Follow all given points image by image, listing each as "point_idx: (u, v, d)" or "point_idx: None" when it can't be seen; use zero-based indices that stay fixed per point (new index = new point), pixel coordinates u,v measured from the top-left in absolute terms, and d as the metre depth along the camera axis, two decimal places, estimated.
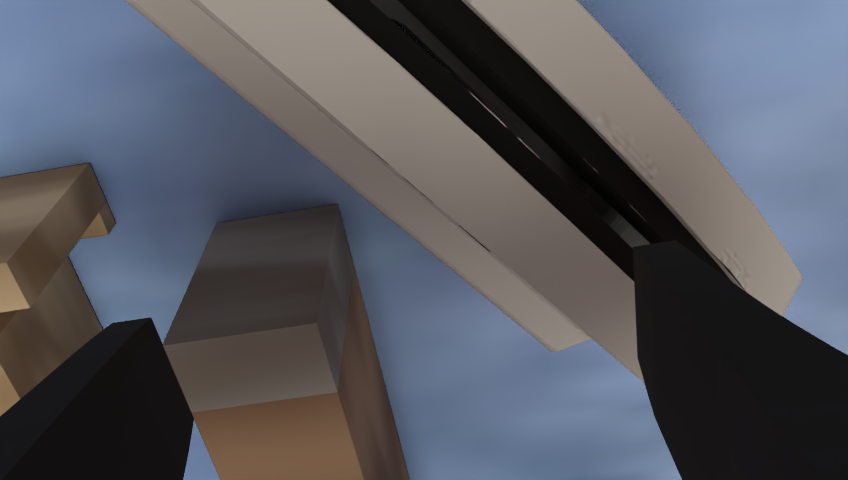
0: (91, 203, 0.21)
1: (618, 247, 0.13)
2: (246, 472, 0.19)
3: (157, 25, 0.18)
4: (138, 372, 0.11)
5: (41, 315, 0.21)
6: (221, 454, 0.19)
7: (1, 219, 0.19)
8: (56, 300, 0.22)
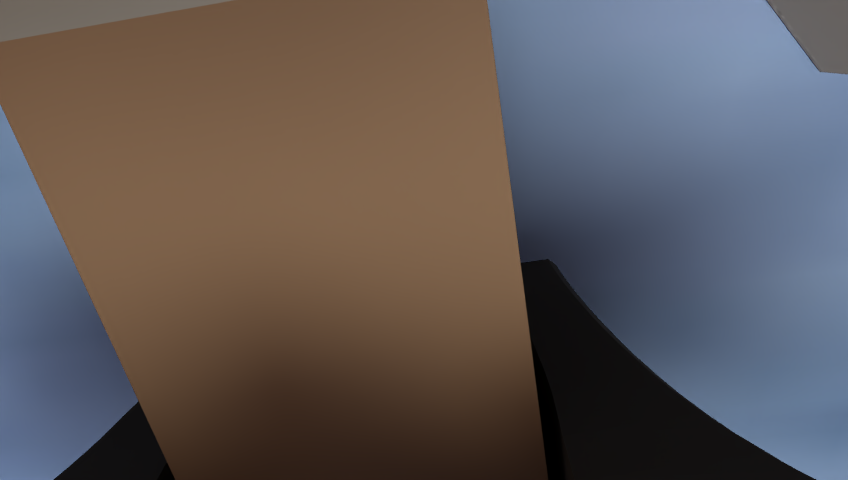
0: None
1: None
2: (174, 287, 0.06)
3: None
4: None
5: None
6: (93, 219, 0.06)
7: None
8: None
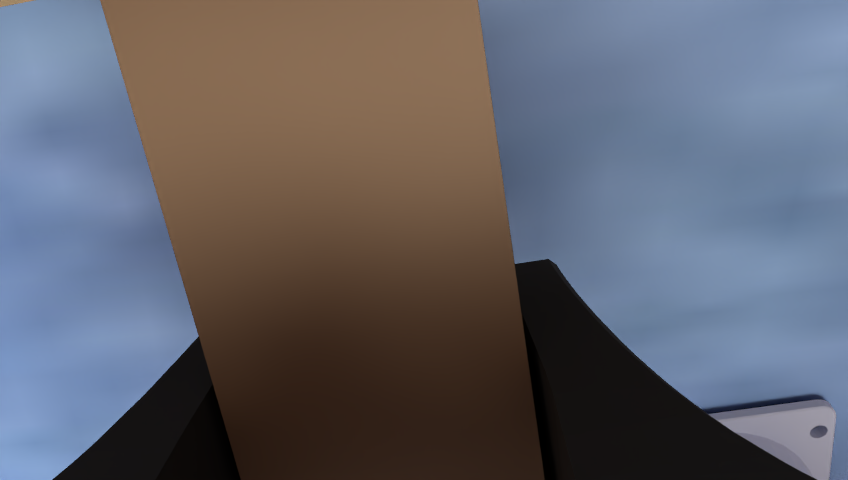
0: None
1: None
2: (207, 119, 0.08)
3: None
4: None
5: None
6: (146, 53, 0.08)
7: None
8: None
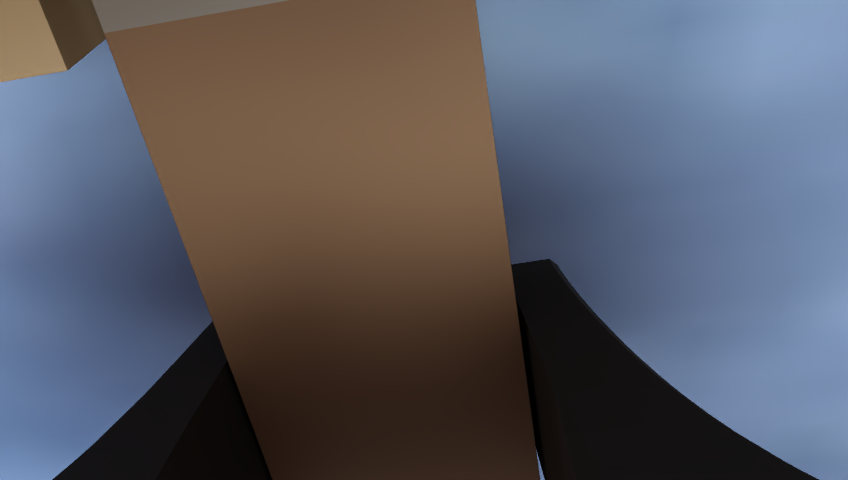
0: None
1: None
2: (240, 217, 0.08)
3: None
4: None
5: None
6: (181, 163, 0.08)
7: None
8: None
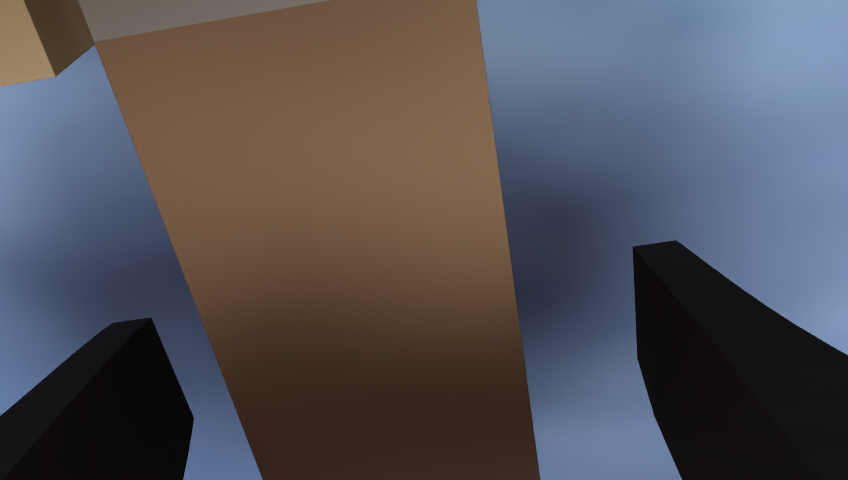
0: None
1: None
2: (235, 229, 0.08)
3: None
4: (138, 372, 0.11)
5: None
6: (175, 175, 0.08)
7: None
8: None
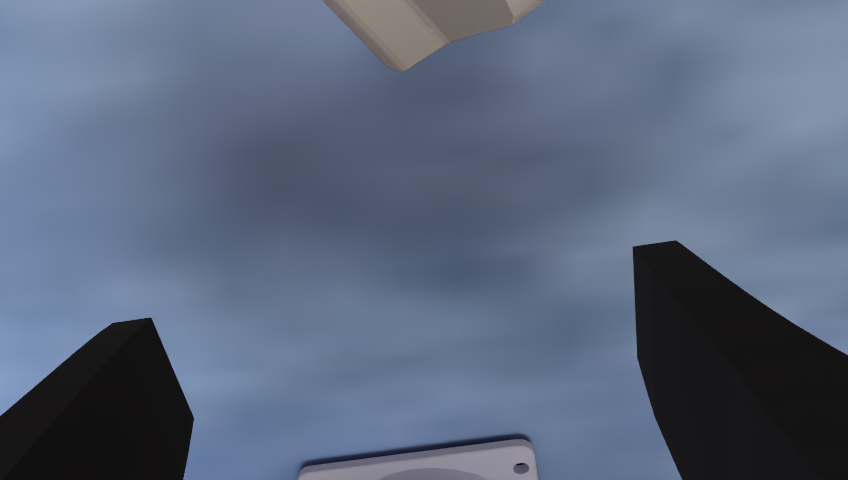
0: None
1: None
2: None
3: None
4: (138, 372, 0.11)
5: None
6: None
7: None
8: None
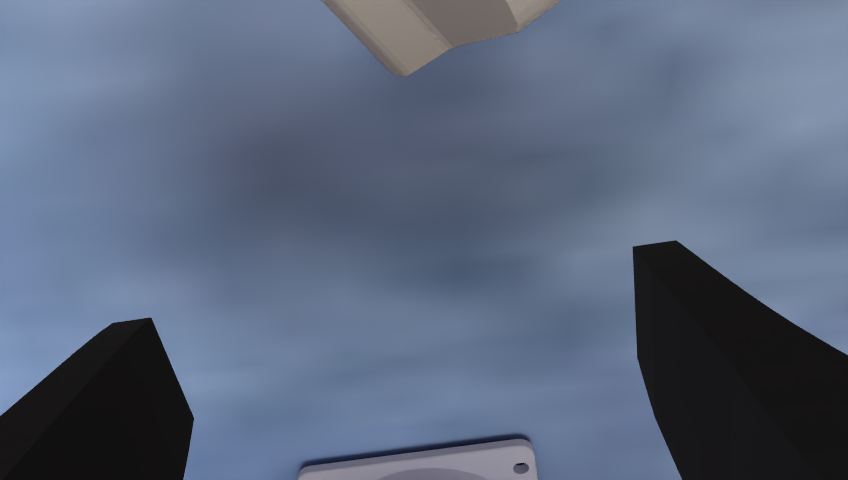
0: None
1: None
2: None
3: None
4: (138, 372, 0.11)
5: None
6: None
7: None
8: None
